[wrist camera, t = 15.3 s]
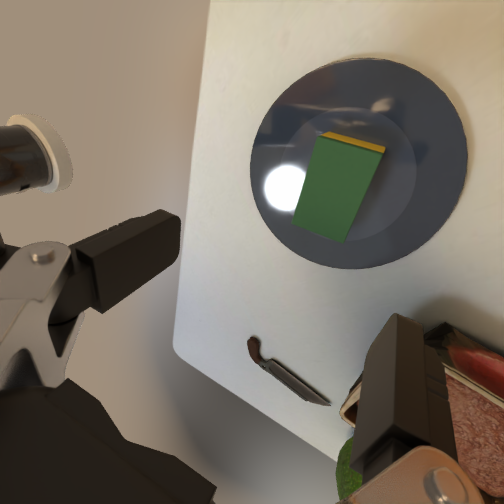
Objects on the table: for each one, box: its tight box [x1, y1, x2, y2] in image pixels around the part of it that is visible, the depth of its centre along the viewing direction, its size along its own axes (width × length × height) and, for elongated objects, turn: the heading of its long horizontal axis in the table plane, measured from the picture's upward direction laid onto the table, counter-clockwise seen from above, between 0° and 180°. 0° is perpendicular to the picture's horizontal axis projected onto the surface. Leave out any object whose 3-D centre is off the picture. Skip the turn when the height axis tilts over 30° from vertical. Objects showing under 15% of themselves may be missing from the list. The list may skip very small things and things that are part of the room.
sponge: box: [291, 132, 386, 244], centre depth 22 cm, size 4×7×4 cm, turn 168°
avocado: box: [336, 436, 362, 500], centre depth 32 cm, size 8×8×12 cm
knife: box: [247, 337, 331, 406], centre depth 39 cm, size 14×4×1 cm, turn 64°
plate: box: [250, 58, 468, 269], centre depth 24 cm, size 17×17×1 cm
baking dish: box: [340, 322, 504, 504], centre depth 25 cm, size 14×18×10 cm
